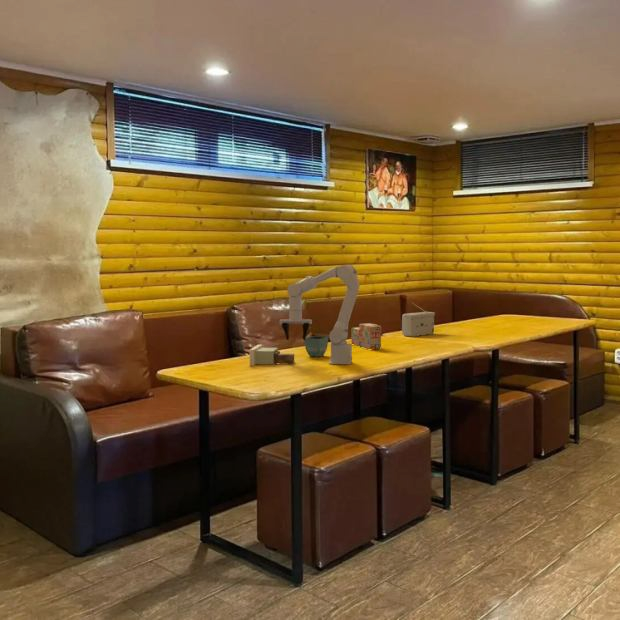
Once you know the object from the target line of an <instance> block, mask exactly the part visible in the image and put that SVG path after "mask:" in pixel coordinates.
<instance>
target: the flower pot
mask: <svg viewBox="0 0 620 620" xmlns="http://www.w3.org/2000/svg"><path fill="white" fill-rule="evenodd" d="M303 341H304V348H305V351H306V353H307V355H308V356H309V357H311V356H312V357H313V356H315V357H316V358H319V356H320V357H324V356H325V354H326V352H327V350H328V342H329V336H314V335H313V336H308V337H306V338H305V340H303Z"/></svg>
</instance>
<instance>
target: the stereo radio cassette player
mask: <svg viewBox="0 0 620 620" xmlns="http://www.w3.org/2000/svg"><path fill="white" fill-rule="evenodd" d="M411 303H412V304H413V305H414V306H415V307H417V308H419V309H420V310H422V311H420V312H410V313H403V314H402V317H401V333H402V335H403V336H404V337H410V336H411V338H413V337H420V335H421V336H426V334H429V335H433V334H435V315H436V312H435V311H434V312H433V311H426V310H424V309H423V308H421V307H419V306H418V305H416V304H415V303H414V302H411ZM432 333H433V334H432Z"/></svg>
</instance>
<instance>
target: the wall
mask: <svg viewBox="0 0 620 620" xmlns="http://www.w3.org/2000/svg"><path fill="white" fill-rule="evenodd" d="M260 348H263V344H257V345H255V346H253V347H252V348H250V349H249V366H256V365H257V364H256V350H258V349H260ZM255 364H256V365H255Z"/></svg>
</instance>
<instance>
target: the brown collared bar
mask: <svg viewBox="0 0 620 620" xmlns="http://www.w3.org/2000/svg"><path fill="white" fill-rule="evenodd" d="M277 363H288V364H287V365H293V364H294V363H295V353H281V351H279V350H278V351H277V352H275V353H274V364H273V365H278V364H277Z"/></svg>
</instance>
